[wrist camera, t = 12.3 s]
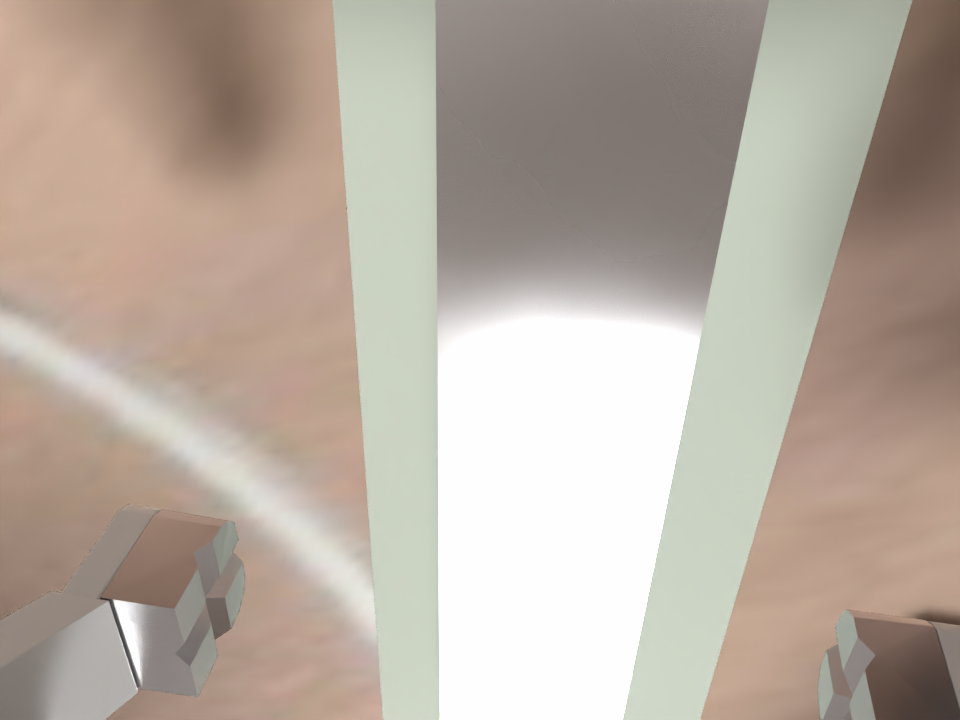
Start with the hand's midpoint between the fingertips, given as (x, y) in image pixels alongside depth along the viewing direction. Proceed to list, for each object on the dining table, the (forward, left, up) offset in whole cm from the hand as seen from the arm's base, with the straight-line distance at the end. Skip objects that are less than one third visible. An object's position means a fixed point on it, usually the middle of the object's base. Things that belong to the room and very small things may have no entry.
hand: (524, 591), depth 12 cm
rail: (0, 0, -4) cm, 4 cm away
